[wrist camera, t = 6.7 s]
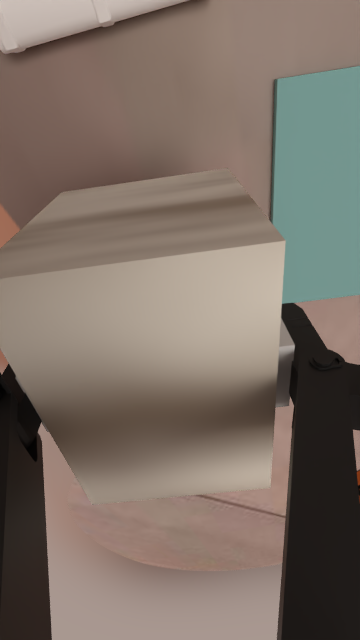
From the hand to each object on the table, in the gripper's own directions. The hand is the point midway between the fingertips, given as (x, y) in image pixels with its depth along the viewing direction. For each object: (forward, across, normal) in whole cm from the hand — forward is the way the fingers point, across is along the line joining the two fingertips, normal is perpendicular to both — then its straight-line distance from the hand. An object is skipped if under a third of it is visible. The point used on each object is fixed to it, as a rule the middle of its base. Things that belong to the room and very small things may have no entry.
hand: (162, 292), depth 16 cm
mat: (+11, +16, 0) cm, 19 cm away
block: (+1, 0, 0) cm, 1 cm away
